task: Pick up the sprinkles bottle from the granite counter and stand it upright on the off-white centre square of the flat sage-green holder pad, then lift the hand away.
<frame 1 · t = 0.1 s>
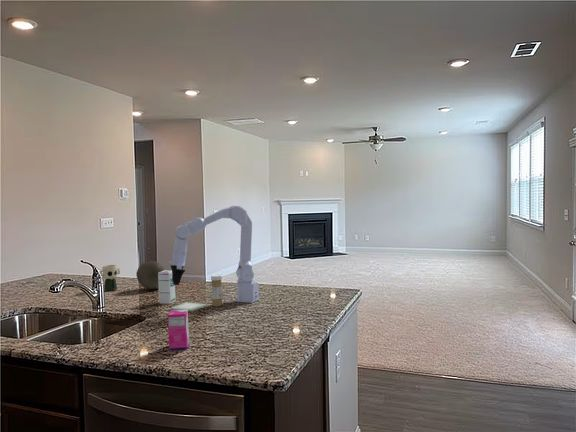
hand: (175, 283, 197), 11 cm above the worktop, tool pointing down, fingers open, 7 cm apart
bottle holder: (188, 307, 197), on the worktop
sprinkles bottle: (217, 305, 199), on the worktop
character mug: (110, 290, 236), on the worktop
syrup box: (167, 302, 207), on the worktop
cantaloupe: (151, 290, 236), on the worktop
supplement box: (179, 347, 145), on the worktop
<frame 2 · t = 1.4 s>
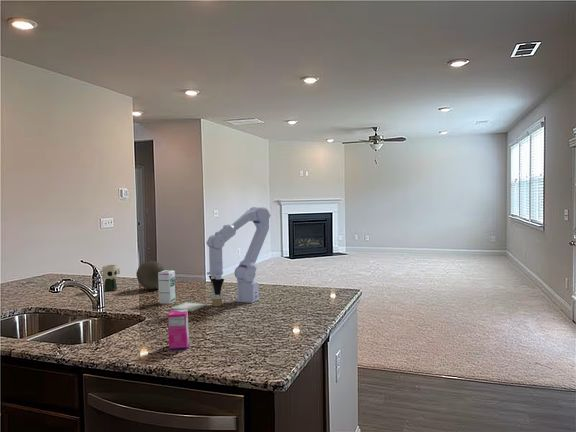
hand: (216, 292, 199), 6 cm above the worktop, tool pointing down, fingers open, 7 cm apart
nothing on the worktop moved.
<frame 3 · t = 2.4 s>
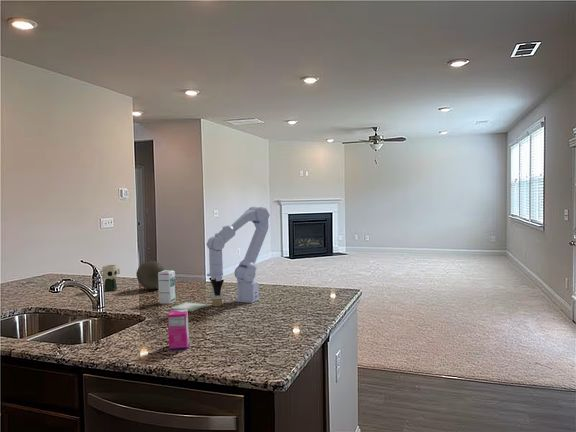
hand: (216, 294, 199), 5 cm above the worktop, tool pointing down, fingers closed on sprinkles bottle, 4 cm apart
sprinkles bottle: (217, 305, 199), on the worktop, touching gripper
everything else where it was.
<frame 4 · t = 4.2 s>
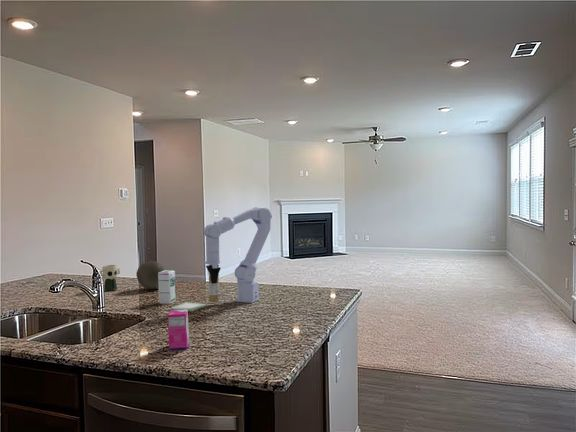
hand: (213, 282, 198), 10 cm above the worktop, tool pointing down, fingers closed on sprinkles bottle, 4 cm apart
sprinkles bottle: (213, 301, 199), point 2 cm above the worktop, touching gripper
everything else where it was.
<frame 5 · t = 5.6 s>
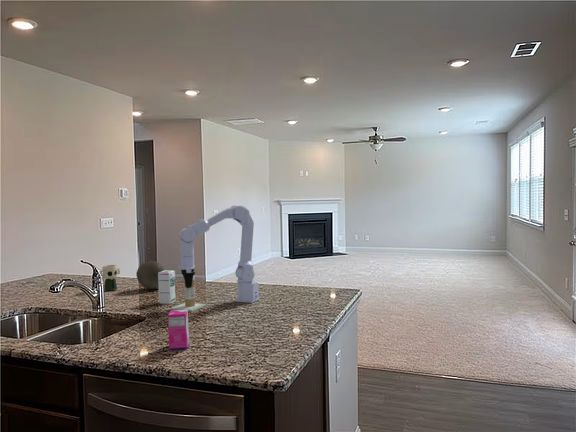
hand: (188, 286, 196), 9 cm above the worktop, tool pointing down, fingers closed on sprinkles bottle, 4 cm apart
sprinkles bottle: (190, 306, 197), resting on bottle holder, touching gripper
everything else where it was.
when the fingers open (5 cm above the worktop, at t = 7.6 s): sprinkles bottle stays where it is, resting on bottle holder.
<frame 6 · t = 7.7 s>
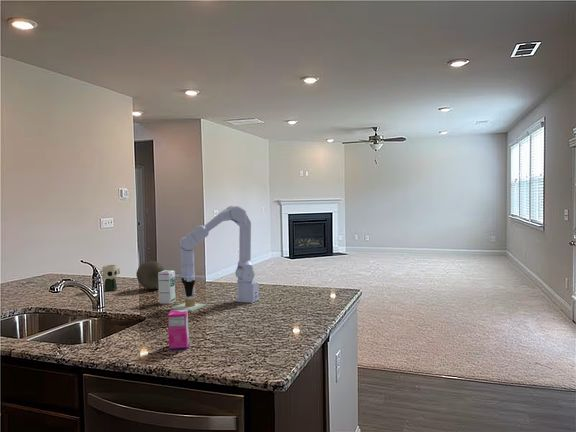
hand: (188, 295, 196), 5 cm above the worktop, tool pointing down, fingers open, 5 cm apart
sprinkles bottle: (190, 306, 197), resting on bottle holder
everything else where it was.
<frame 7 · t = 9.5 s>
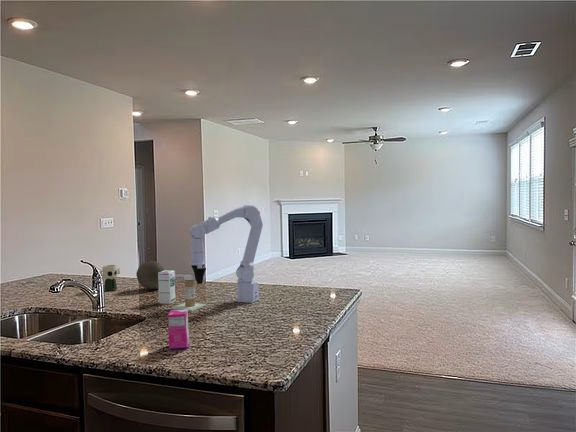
hand: (198, 282, 200), 10 cm above the worktop, tool pointing down, fingers open, 7 cm apart
nothing on the worktop moved.
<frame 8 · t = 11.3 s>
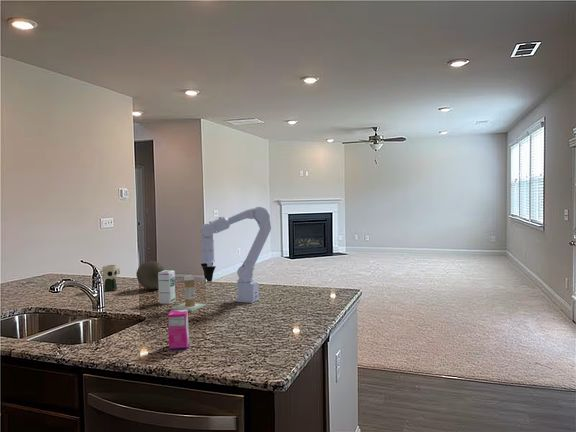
hand: (208, 280, 204), 10 cm above the worktop, tool pointing down, fingers open, 7 cm apart
nothing on the worktop moved.
at the end: sprinkles bottle 0.5 cm from the bottle holder (horizontally); sprinkles bottle tilted 0°; the gripper is holding nothing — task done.
